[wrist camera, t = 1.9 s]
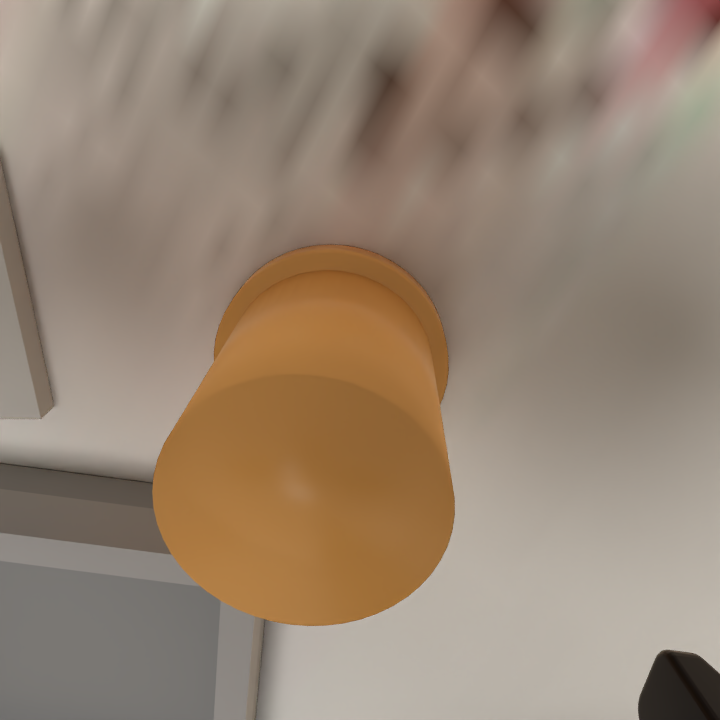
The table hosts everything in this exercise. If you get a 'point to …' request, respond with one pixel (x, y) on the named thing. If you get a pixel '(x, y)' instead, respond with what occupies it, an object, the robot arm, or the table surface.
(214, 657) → the housing
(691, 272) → the table surface
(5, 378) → the lid
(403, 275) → the orange drawer knob
